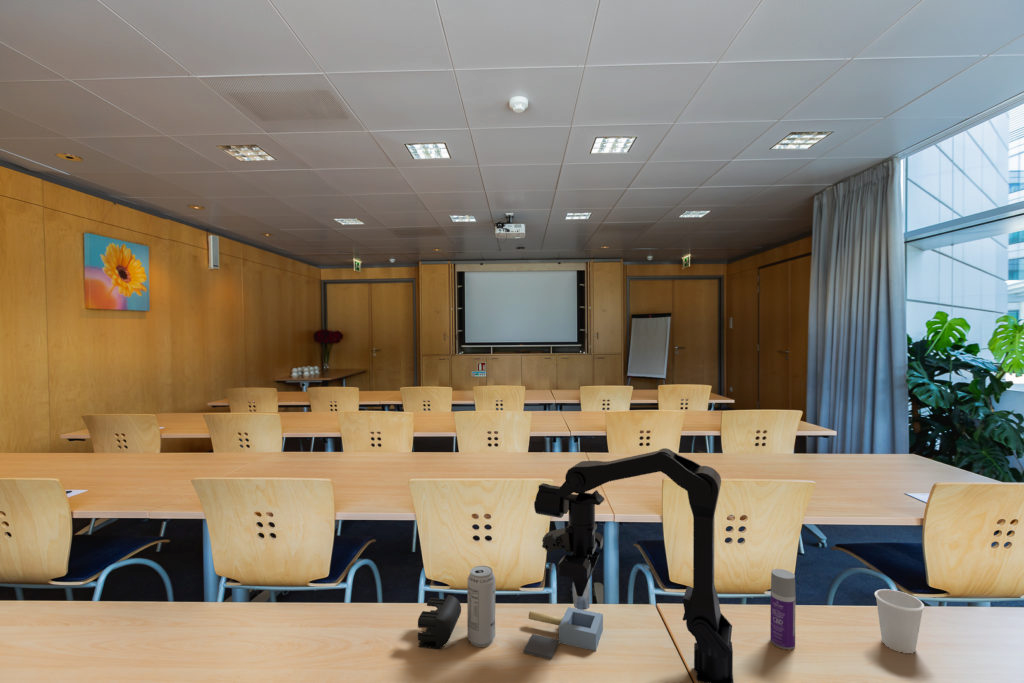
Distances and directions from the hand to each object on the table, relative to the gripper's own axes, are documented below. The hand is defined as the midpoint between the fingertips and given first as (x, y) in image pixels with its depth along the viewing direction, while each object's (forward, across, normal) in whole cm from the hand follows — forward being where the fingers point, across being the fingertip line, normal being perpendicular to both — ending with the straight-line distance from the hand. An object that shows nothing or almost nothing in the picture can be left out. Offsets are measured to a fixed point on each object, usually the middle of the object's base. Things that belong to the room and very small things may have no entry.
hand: (581, 591), depth 108 cm
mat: (+10, +7, -7) cm, 14 cm away
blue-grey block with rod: (+10, 0, -4) cm, 11 cm away
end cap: (+10, +11, -29) cm, 33 cm away
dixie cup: (+10, -21, +64) cm, 68 cm away
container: (+10, -13, +41) cm, 44 cm away
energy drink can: (+10, +9, -20) cm, 24 cm away
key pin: (+3, 0, 0) cm, 3 cm away
